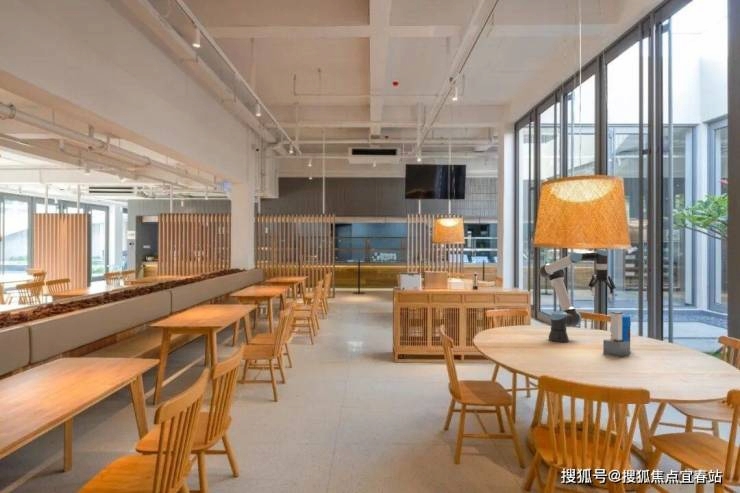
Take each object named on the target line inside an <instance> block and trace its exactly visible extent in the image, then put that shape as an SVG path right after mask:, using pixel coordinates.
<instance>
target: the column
mask: <svg viewBox="0 0 740 493" xmlns="http://www.w3.org/2000/svg"><path fill="white" fill-rule="evenodd" d="M622 315H624V311H616V310H615V311H610V338H611V339H612V340H615V342H622Z"/></svg>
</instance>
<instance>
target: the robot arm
mask: <svg viewBox="0 0 740 493" xmlns="http://www.w3.org/2000/svg"><path fill="white" fill-rule="evenodd" d="M608 256H609V255H608V249H605V248H603V249H602V248H600V249H596V251H589V250H586V251H572V252H571V253H570V254H569V255H568V256H567V255H566V256H565V257H562V258H560V259H559V260H555V261H553V262H551V263H546V264H544V265H542V266H541V267H540V268H539V270H538V272H539V275H540V277H542V279H547V280H549V282H550V283H552V285H553V287H554V291H555V294H556V298H557V299H558V303H559V305H560V309H561V310H555V311H552V312H551V314H550V332H549V335H548V341H550V340H552V341H551V342H554V341H556V342H555V343H568V342H569V341H570V340H569V339H570V338H569V337H568V333H567V328H569V327H577V326H580V324H581V322H582V315H581V313H580V312H578V311H577V310H576V308H575V307H573V305H572V302H571V299H570V296H569V293H568V290H567V288H566V285H565V281H564V279H565V275H566V270H565V268H568V267H570V266H572V265H575V264H577V263H580V262H595V266H596V267H595V268H596V270H595V272H596V273H595V274H592V276H591V278H590V281H589V282H588V287H590V292H591V296H592V297H594V296H595V293H596V292H595V291H596V290H595V288H596V287H595V286H596V285H598V284H597V283H599V282H604V283H605V285H607V287H608V288H609V289H608V299H611V298H613V294H614V289H616V288H617V287H616V284H615V283H614V280H613V279H612V276H611V275H609V276H608Z"/></svg>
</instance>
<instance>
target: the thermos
mask: <svg viewBox="0 0 740 493" xmlns="http://www.w3.org/2000/svg"><path fill="white" fill-rule="evenodd" d="M622 340H626V341H630V342H631V316H630V315H625V314H622Z"/></svg>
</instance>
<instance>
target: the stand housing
mask: <svg viewBox="0 0 740 493" xmlns="http://www.w3.org/2000/svg"><path fill="white" fill-rule="evenodd" d="M602 343H603V345H602V346H603V347H602V350H603V354H604V355H607V356H612V357H616V358H624V357H627V356H630V355H631V340H630V341H626V340H622V342H615V340H612V339H611V337H610V338H607V339H603V342H602Z"/></svg>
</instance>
